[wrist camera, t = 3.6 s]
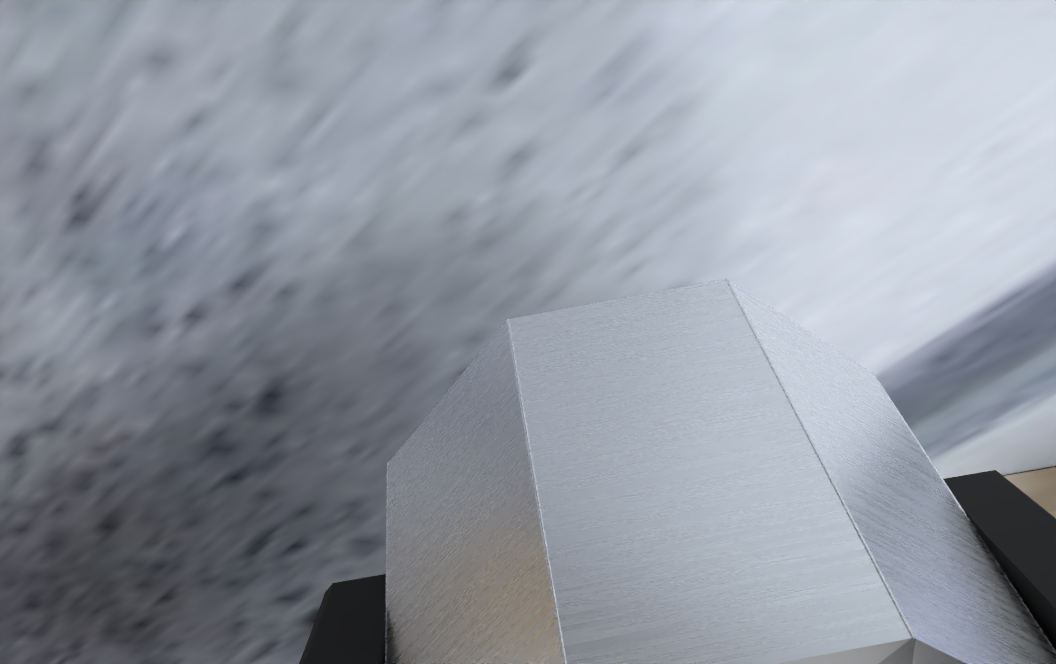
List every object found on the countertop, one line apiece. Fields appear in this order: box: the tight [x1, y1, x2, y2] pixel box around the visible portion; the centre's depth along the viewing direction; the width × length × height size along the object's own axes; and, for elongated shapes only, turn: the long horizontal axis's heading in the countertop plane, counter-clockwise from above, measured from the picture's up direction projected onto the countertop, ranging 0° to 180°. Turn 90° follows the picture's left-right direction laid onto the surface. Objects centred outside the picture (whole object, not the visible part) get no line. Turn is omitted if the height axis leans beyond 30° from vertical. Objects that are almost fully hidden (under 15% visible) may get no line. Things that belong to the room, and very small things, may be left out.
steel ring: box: [385, 279, 1056, 664], centre depth 10 cm, size 6×6×4 cm
